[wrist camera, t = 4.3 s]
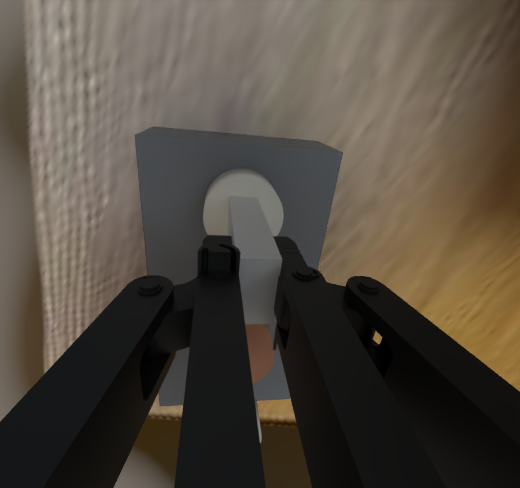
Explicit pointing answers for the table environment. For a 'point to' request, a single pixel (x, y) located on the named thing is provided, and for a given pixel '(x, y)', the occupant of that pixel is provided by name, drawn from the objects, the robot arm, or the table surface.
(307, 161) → the knob panel
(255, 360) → the rust knob middle
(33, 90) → the table surface
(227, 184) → the cream knob
